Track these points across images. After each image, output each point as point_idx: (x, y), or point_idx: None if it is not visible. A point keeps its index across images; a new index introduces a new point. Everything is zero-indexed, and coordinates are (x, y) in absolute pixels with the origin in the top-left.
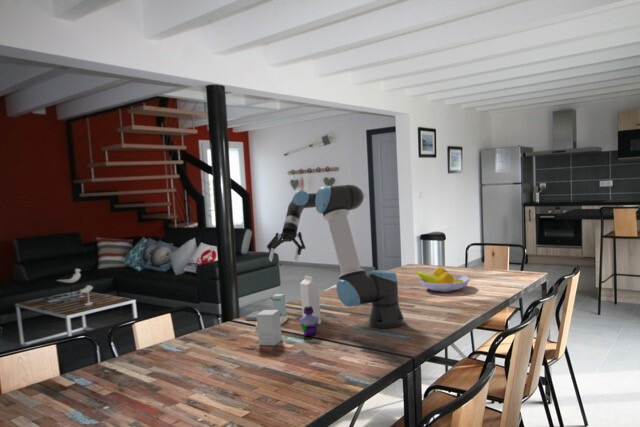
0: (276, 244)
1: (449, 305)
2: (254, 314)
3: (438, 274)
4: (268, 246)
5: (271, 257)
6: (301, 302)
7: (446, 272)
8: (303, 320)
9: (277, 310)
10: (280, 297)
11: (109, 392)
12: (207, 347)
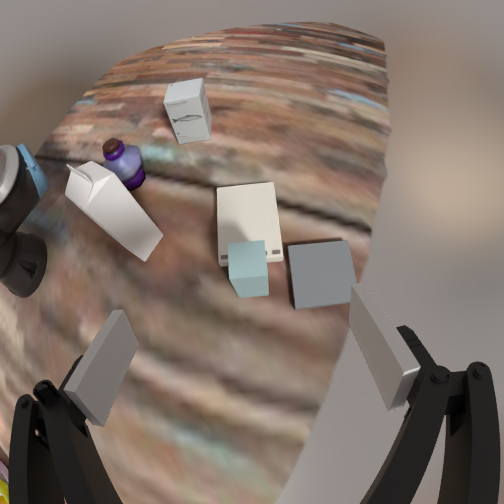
0: (394, 452)
1: None
2: (337, 267)
3: (1, 500)
4: (469, 372)
5: (358, 317)
6: (140, 207)
7: None
8: (129, 145)
9: (165, 99)
10: (230, 244)
11: (301, 37)
12: (297, 100)
